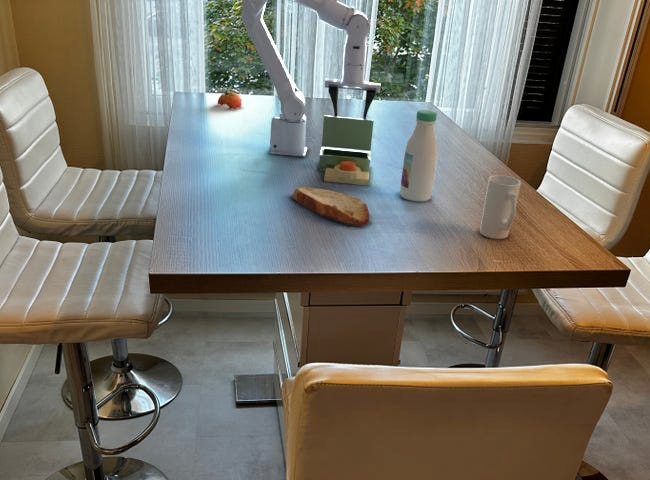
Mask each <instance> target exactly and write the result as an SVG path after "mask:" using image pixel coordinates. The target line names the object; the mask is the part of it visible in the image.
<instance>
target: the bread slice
mask: <svg viewBox="0 0 650 480" xmlns="http://www.w3.org/2000/svg"><path fill="white" fill-rule="evenodd" d="M291 198H292V199H293V200H294V201H295V202H297V203H298V204H299V205H301V206H302V207H304V208H306V209H307V210H310V211H311V212H313V213H316V214H317V215H318V216H321V217H323V218H325V219H329V220H330V221H332V222H337V223H340V224H342V225H347V226H351V227H363V226H365V225H367V224H369V222H370V211H369V208H368V206H367V205H368V204H367V203H366V202H364V201H363V200H362V199H360V198H358V197H355V196H352V195H350V194H346V193H340V192H337V191H334V190H330V189H325V188H316V187H296V188H295V190H294V191H293V194H292V196H291Z"/></svg>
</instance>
